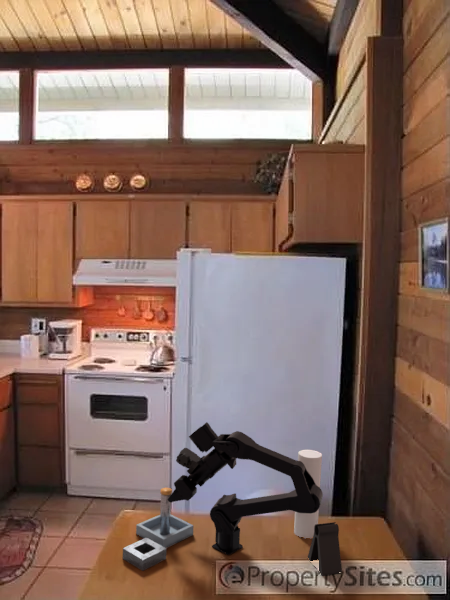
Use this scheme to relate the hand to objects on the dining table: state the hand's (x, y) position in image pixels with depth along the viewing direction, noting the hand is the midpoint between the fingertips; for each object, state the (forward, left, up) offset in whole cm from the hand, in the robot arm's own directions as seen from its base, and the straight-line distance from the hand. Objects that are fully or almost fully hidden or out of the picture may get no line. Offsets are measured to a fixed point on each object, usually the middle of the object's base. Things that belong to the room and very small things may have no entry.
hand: (174, 494), depth 166 cm
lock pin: (+3, +1, -12) cm, 13 cm away
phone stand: (-40, -19, -13) cm, 46 cm away
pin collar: (-3, +14, -13) cm, 19 cm away
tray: (+3, +1, -13) cm, 13 cm away
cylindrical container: (-26, -31, -13) cm, 43 cm away
